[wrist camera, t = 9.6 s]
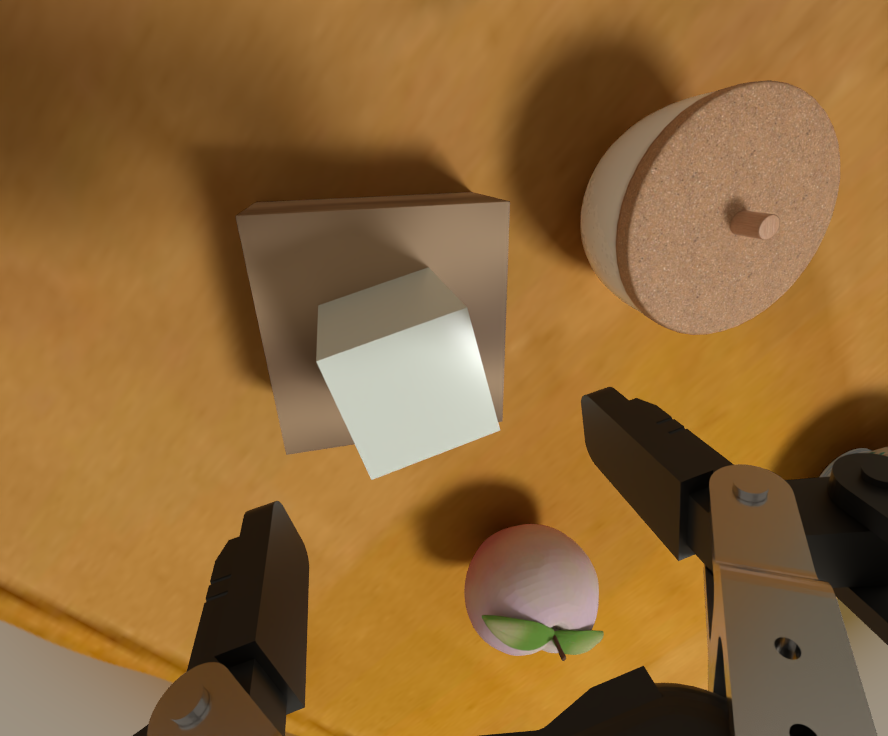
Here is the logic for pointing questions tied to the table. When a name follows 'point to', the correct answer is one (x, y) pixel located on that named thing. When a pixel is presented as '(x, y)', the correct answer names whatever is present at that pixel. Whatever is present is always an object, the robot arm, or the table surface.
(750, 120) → the lidded jar
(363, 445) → the off-white cube
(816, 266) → the table surface
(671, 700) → the robot arm
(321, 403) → the walnut block
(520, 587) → the decorative fruit
